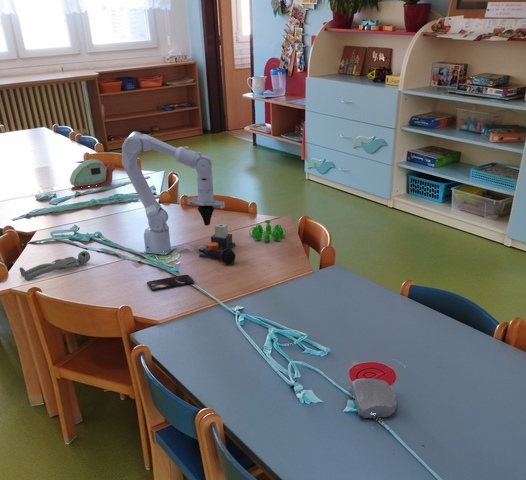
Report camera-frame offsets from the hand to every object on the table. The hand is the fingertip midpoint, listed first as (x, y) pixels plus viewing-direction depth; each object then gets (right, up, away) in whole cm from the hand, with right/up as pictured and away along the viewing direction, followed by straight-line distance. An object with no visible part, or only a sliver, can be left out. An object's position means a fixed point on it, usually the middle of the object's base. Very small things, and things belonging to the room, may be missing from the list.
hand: (207, 224), depth 220 cm
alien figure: (-53, -19, -11) cm, 58 cm away
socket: (+5, -7, +8) cm, 12 cm away
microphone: (+3, -12, -3) cm, 13 cm away
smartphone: (-11, -25, -22) cm, 35 cm away
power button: (+2, -9, 0) cm, 9 cm away
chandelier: (+23, -2, +17) cm, 29 cm away
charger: (+5, -5, +6) cm, 9 cm away
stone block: (+48, -61, -82) cm, 113 cm away
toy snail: (-69, +40, +88) cm, 119 cm away
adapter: (+4, -9, +4) cm, 11 cm away
